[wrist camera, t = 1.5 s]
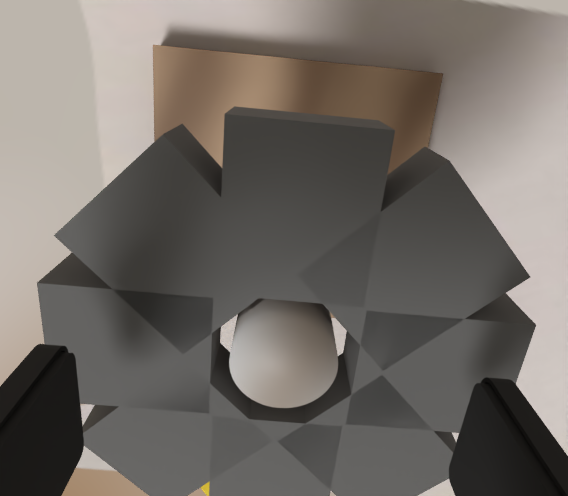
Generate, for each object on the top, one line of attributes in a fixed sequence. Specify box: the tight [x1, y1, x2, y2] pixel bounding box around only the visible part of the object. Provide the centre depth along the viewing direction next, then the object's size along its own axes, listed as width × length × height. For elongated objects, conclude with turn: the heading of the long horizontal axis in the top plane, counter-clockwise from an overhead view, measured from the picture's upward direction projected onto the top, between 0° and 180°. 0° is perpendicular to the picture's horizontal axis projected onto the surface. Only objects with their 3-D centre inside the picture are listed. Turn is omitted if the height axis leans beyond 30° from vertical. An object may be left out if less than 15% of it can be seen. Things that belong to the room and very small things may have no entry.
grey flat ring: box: [37, 106, 536, 496], centre depth 13 cm, size 13×13×2 cm
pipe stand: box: [153, 45, 443, 408], centre depth 21 cm, size 16×16×18 cm
